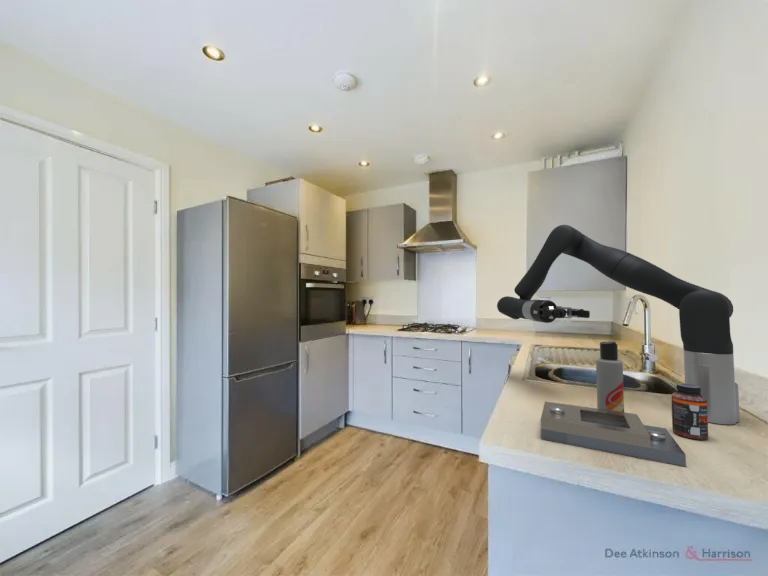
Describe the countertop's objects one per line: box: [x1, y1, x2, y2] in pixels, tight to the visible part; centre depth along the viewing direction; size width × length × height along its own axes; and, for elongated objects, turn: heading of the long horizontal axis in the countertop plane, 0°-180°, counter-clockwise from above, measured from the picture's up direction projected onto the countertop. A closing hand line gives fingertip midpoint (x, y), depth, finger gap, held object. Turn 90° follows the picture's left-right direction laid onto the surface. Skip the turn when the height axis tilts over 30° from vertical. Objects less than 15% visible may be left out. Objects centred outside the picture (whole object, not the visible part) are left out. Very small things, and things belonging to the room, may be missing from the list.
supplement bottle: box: [671, 382, 709, 441], centre depth 73 cm, size 6×6×11 cm
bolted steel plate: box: [540, 401, 687, 468], centre depth 71 cm, size 24×14×5 cm, turn 60°
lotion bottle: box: [595, 340, 625, 412], centre depth 83 cm, size 6×6×20 cm
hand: (576, 314), depth 94 cm, fingers open, 8 cm apart
